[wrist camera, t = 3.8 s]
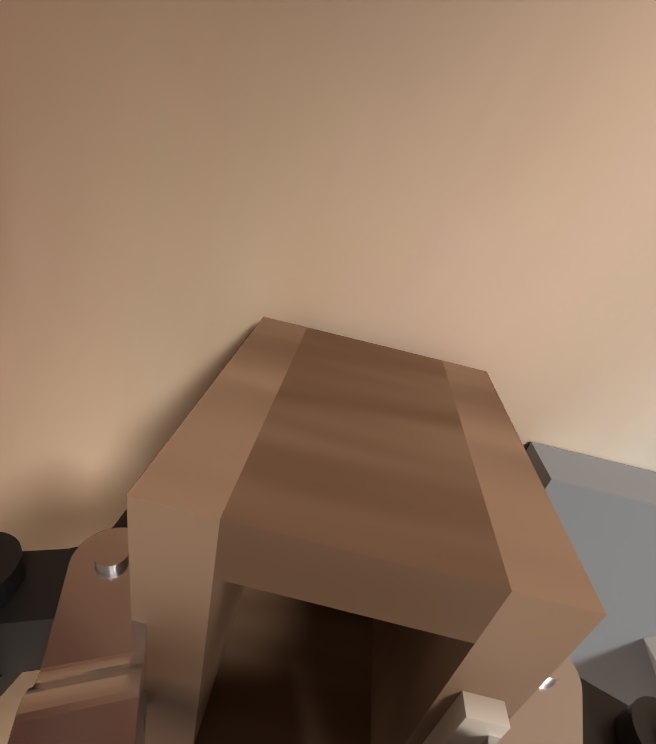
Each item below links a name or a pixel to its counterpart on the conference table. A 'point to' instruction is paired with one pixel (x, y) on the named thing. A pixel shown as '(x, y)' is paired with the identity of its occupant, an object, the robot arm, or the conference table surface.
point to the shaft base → (610, 562)
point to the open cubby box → (347, 554)
